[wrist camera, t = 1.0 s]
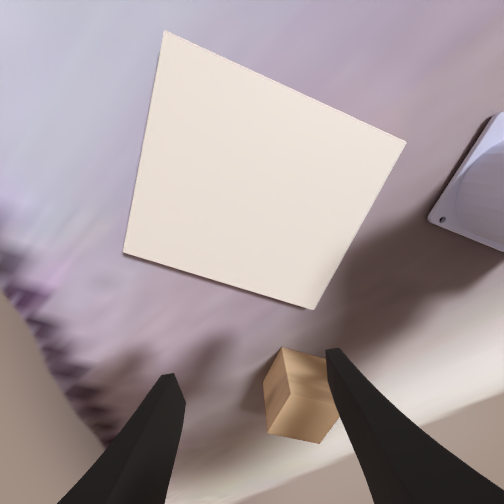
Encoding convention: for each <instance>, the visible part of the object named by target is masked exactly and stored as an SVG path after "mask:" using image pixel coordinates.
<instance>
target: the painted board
mask: <svg viewBox="0 0 504 504" xmlns="http://www.w3.org/2000/svg"><path fill="white" fill-rule="evenodd" d="M406 143H407V142H406V141H404V140H401V139H399V138H397V137H395V136H393V135H391V134H388V133H386V132H384V131H382V130H380V129H378V128H375V127H373V126H371V125H369V124H367V123H365V122H362V121H360V120H358V119H356V118H354V117H352V116H349V115H347V114H345V113H343V112H341V111H339V110H336V109H334V108H332V107H330V106H328V105H326V104H323V103H321V102H319V101H317V100H315V99H313V98H310V97H308V96H306V95H304V94H302V93H300V92H297V91H295V90H293V89H291V88H289V87H287V86H284V85H282V84H280V83H278V82H276V81H274V80H272V79H269V78H267V77H265V76H263V75H261V74H259V73H256V72H254V71H252V70H250V69H248V68H246V67H243V66H241V65H239V64H237V63H235V62H233V61H230V60H228V59H226V58H224V57H222V56H220V55H217V54H215V53H213V52H211V51H209V50H207V49H204V48H202V47H200V46H198V45H196V44H194V43H191V42H189V41H187V40H185V39H183V38H181V37H178V36H176V35H174V34H172V33H170V32H168V31H165V30H164V35H163V40H162V45H161V51H160V56H159V61H158V67H157V72H156V78H155V83H154V88H153V94H152V99H151V104H150V110H149V115H148V120H147V126H146V131H145V137H144V142H143V147H142V153H141V158H140V163H139V169H138V174H137V179H136V185H135V190H134V196H133V201H132V206H131V212H130V217H129V222H128V228H127V233H126V238H125V244H124V249H123V252H124V253H127V254H130V255H134V256H137V257H140V258H143V259H147V260H150V261H153V262H157V263H160V264H163V265H166V266H170V267H173V268H176V269H180V270H183V271H186V272H189V273H193V274H196V275H199V276H203V277H206V278H209V279H212V280H216V281H219V282H222V283H226V284H229V285H232V286H235V287H239V288H242V289H245V290H249V291H252V292H255V293H258V294H262V295H265V296H268V297H272V298H275V299H278V300H281V301H285V302H288V303H291V304H295V305H298V306H301V307H304V308H308V309H311V310H314V309H315V307H316V305H317V304H318V302H319V300H320V298H321V296H322V295H323V293H324V291H325V289H326V287H327V286H328V284H329V282H330V280H331V278H332V276H333V275H334V273H335V271H336V269H337V267H338V266H339V264H340V262H341V260H342V258H343V257H344V255H345V253H346V251H347V249H348V248H349V246H350V244H351V242H352V240H353V238H354V237H355V235H356V233H357V231H358V229H359V228H360V226H361V224H362V222H363V220H364V219H365V217H366V215H367V213H368V211H369V210H370V208H371V206H372V204H373V202H374V201H375V199H376V197H377V195H378V193H379V191H380V190H381V188H382V186H383V184H384V182H385V181H386V179H387V177H388V175H389V173H390V172H391V170H392V168H393V166H394V164H395V163H396V161H397V159H398V157H399V155H400V153H401V152H402V150H403V148H404V146H405V144H406Z"/></svg>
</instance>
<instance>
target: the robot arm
mask: <svg viewBox="0 0 504 504" xmlns="http://www.w3.org/2000/svg"><path fill="white" fill-rule="evenodd" d="M441 217H442V220H441V221H440V222H439V220H440V218H441ZM428 221H429V222H430V223H433V224H435V225H438V226H440V227H442V228H445V229H447V230H450V231H452V232H455V233H457V234H460V235H462V236H465V237H467V238H470V239H472V240H475V241H477V242H479V243H482V244H484V245H487V246H489V247H492V248H494V249H497V250H499V251H502V252H504V111H503V112H498V113H496V114H494V115H493V117H492V118H491V119H490V121H489V123H488V124H487V126H486V127H485V129H484V130H483V132H482V133H481V135H480V136H479V138H478V139H477V141H476V143H475V144H474V146H473V147H472V149H471V150H470V152H469V153H468V155H467V156H466V158H465V159H464V161H463V163H462V164H461V166H460V167H459V169H458V170H457V172H456V173H455V175H454V176H453V178H452V180H451V181H450V183H449V184H448V186H447V187H446V189H445V190H444V192H443V193H442V195H441V196H440V198H439V200H438V201H437V203H436V204H435V206H434V207H433V209H432V210H431V212H430V213H429V215H428ZM325 351H326V365H327V380H328V384H329V387H330V391H331V394H332V397H333V400H334V403H335V406H336V408H337V411H338V413H339V416H340V418H341V420H342V423H343V425H344V427H345V430H346V432H347V434H348V437H349V439H350V441H351V444H352V446H353V448H354V451H355V453H356V455H357V458H358V460H359V462H360V465H361V468H362V470H363V472H364V475H365V478H366V481H367V483H368V486H369V489H370V492H371V495H372V498H373V501H374V504H504V490H503V489H501V488H500V487H498V486H497V485H495V484H494V483H493V482H491V481H490V480H488V479H487V478H485V477H484V476H482V475H481V474H479V473H478V472H477V471H475V470H474V469H472V468H471V467H470V466H469V465H467V464H466V463H464V462H463V461H462V460H460V459H459V458H458V457H456V456H455V455H454V454H452V453H451V452H450V451H448V450H447V449H446V448H444V447H443V446H442V445H440V444H439V443H438V442H437V441H435V440H434V439H433V438H431V437H430V436H429V435H428V434H426V433H425V432H424V431H423V430H422V429H420V428H419V427H418V426H417V425H416V424H414V423H413V422H412V421H411V420H410V419H409V418H407V417H406V416H405V415H404V414H403V413H402V412H401V411H400V410H398V409H397V408H396V407H395V406H394V405H393V404H392V403H391V402H390V401H389V400H388V399H387V398H386V397H385V396H383V395H382V394H381V393H380V392H379V391H378V390H377V389H376V388H375V387H374V386H373V385H372V384H371V383H370V381H369V380H368V379H367V378H366V377H365V376H364V375H363V374H362V373H361V372H360V371H359V370H358V369H357V368H356V367H355V365H354V364H353V363H352V362H351V361H350V360H349V359H348V357H347V356H346V355H345V354H344V353H343V351H342V350H341V349H340V348H335V349H328V350H325ZM185 405H186V402H185V399H184V397H183V394H182V392H181V390H180V387H179V385H178V382H177V380H176V377H175V375H174V373H173V374H166V375H161V377H160V378H159V379H158V381H157V382H156V383H155V385H154V386H153V388H152V389H151V390H150V392H149V393H148V395H147V396H146V397H145V399H144V400H143V402H142V403H141V404H140V406H139V407H138V409H137V410H136V411H135V413H134V414H133V415H132V417H131V418H130V419H129V421H128V422H127V423H126V425H125V426H124V427H123V429H122V430H121V431H120V432H119V434H118V435H117V436H116V438H115V439H114V440H113V441H112V443H111V444H110V445H109V446H108V448H107V449H106V450H105V451H104V453H103V454H102V455H101V456H100V457H99V458H98V460H97V461H96V462H95V463H94V464H93V466H92V467H91V468H90V469H89V470H88V471H87V472H86V474H85V475H84V476H83V477H82V478H81V479H80V480H79V481H78V482H77V483H76V484H75V485H74V487H73V488H72V489H71V490H70V491H69V492H68V493H67V494H66V495H65V496H64V497H63V498H62V499H61V500H60V501H59V502H58V503H57V504H164V503H165V499H166V494H167V489H168V485H169V481H170V477H171V473H172V469H173V465H174V461H175V457H176V453H177V449H178V444H179V440H180V436H181V432H182V427H183V420H184V413H185Z"/></svg>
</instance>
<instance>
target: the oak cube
mask: <svg viewBox="0 0 504 504" xmlns="http://www.w3.org/2000/svg"><path fill="white" fill-rule="evenodd" d="M263 389H264V401H265V413H266V425H267V433H269V434H274V435H279V436H284V437H289V438H294V439H298V440H303V441H308V442H313V443H318V444H320V442H321V441H322V440H323V438H324V437H325V436H326V434H327V433H328V432H329V430H330V429H331V428H332V426H333V425H334V424H335V422H336V421H337V420H338V418H339V417H340V416H339V413H338V411H337V408H336V406H335V403H334V400H333V397H332V394H331V391H330V387H329V384H328V380H327V365H326V359H324V358H320V357H317V356H313V355H309V354H306V353H302V352H298V351H294V350H291V349H287V348H283V347H281V349H280V351H279V353H278V355H277V357H276V358H275V360H274V362H273V364H272V366H271V368H270V370H269V372H268V374H267V375H266V377H265V379H264V381H263Z"/></svg>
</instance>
